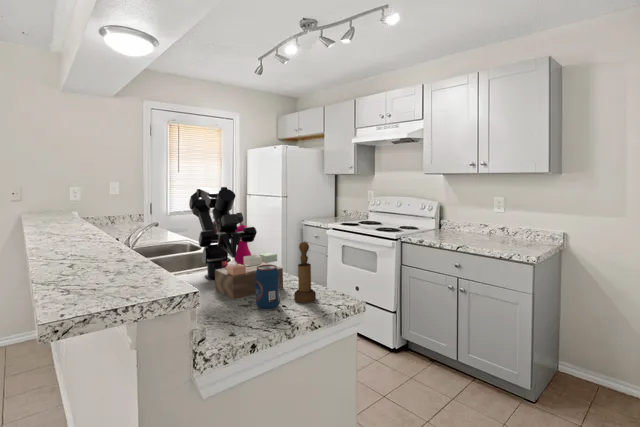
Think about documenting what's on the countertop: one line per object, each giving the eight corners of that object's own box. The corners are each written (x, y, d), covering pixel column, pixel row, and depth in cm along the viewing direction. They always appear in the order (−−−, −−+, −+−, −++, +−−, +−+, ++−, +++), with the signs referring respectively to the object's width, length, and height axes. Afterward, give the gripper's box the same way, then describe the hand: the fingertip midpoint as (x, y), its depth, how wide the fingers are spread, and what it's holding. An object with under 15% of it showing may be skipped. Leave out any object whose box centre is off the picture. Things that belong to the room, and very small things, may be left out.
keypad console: (215, 289, 127) (214, 268, 126) (262, 280, 138) (262, 260, 138) (233, 299, 116) (232, 276, 115) (283, 288, 127) (282, 267, 127)
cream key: (243, 263, 124) (243, 256, 124) (255, 261, 127) (255, 254, 127) (250, 266, 121) (249, 258, 121) (261, 263, 124) (261, 256, 123)
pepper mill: (248, 270, 153) (246, 222, 151) (231, 270, 155) (229, 222, 153) (254, 266, 160) (253, 220, 158) (239, 266, 162) (237, 220, 160)
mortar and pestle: (299, 304, 110) (298, 245, 109) (291, 298, 116) (289, 241, 114) (319, 301, 113) (318, 242, 112) (310, 295, 119) (308, 239, 117)
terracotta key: (227, 273, 121) (226, 265, 121) (239, 270, 124) (239, 263, 123) (233, 275, 117) (232, 268, 117) (245, 273, 120) (245, 266, 120)
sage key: (259, 261, 128) (259, 254, 128) (270, 259, 131) (270, 252, 131) (266, 263, 125) (265, 256, 124) (277, 261, 127) (277, 254, 127)
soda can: (252, 305, 110) (251, 266, 109) (274, 301, 114) (273, 263, 112) (261, 312, 104) (259, 271, 103) (283, 308, 107) (282, 267, 106)
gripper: (198, 206, 120) (209, 245, 111) (253, 203, 129) (267, 239, 121) (194, 228, 127) (204, 265, 119) (247, 223, 137) (259, 258, 128)
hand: (234, 256), depth 121 cm, fingers closed
